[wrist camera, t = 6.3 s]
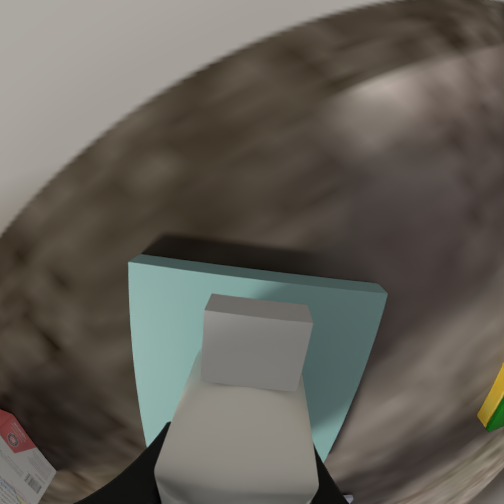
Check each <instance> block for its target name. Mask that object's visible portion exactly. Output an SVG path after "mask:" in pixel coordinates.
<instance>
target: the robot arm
mask: <svg viewBox="0 0 504 504" xmlns="http://www.w3.org/2000/svg"><path fill="white" fill-rule="evenodd" d="M170 424H171V422H170V421H169V422H167V423H166V425H165V426H164V427H163V429H162V430H161V432H160V433H159V434H158V435H157V437H156V438H155V439H154V440H153V442H152V443H151V444H150V445H149V446H148V447H147V448H146V449H145V451H144V452H143V453H142V454H141V455H140V456H139V457H138V458H137V459H136V460H135V461H134V462H133V463H132V464H131V465H130V466H129V467H127V468H126V469H125V470H124V471H123V472H122V473H121V474H120V475H118V476H117V477H116V478H115V479H113V480H112V481H111V482H109V483H108V484H106V485H105V486H104V487H102V488H101V489H99V490H98V491H96V492H94V493H93V494H91V495H89V496H88V497H86V498H84V499H82V500H80V501H78V502H76V503H74V504H162V502H161V498H160V494H159V491H158V487H157V483H156V479H155V473H154V470H155V465H156V463H157V460H158V457H159V454H160V451H161V449H162V446H163V443H164V441H165V438H166V435H167V432H168V430H169V427H170ZM313 446H314V453H315V460H316V467H317V474H318V482H319V486H318V490H317V492H316V494H315V496H314V497H313V499H312V500H311V502H310V503H309V504H350V503H351V502H352V501H353V496H352V495H343V494H342V493H341V492H340V490H339V489H338V487H337V486H336V484H335V482H334V481H333V479H332V478H331V476H330V474H329V473H328V471H327V469H326V467H325V465H324V464H323V462H322V460H321V458H320V456H319V454H318V452H317V450H316V447H315V445H314V443H313Z"/></svg>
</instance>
